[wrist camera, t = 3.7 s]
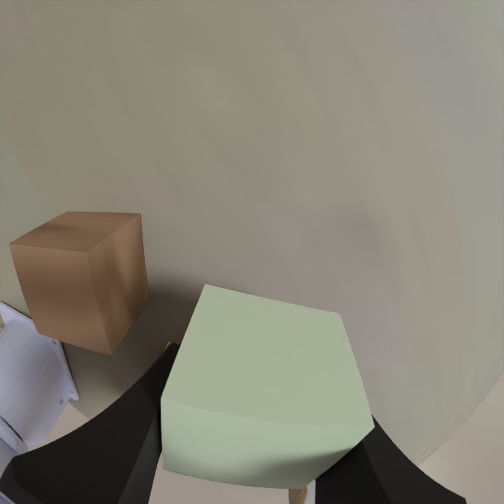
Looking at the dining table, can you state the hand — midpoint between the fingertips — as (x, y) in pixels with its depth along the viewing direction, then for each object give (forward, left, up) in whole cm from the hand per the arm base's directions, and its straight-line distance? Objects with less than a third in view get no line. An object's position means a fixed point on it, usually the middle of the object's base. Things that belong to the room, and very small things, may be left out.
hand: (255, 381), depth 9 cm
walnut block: (0, +9, -6) cm, 11 cm away
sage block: (0, 0, -2) cm, 2 cm away
